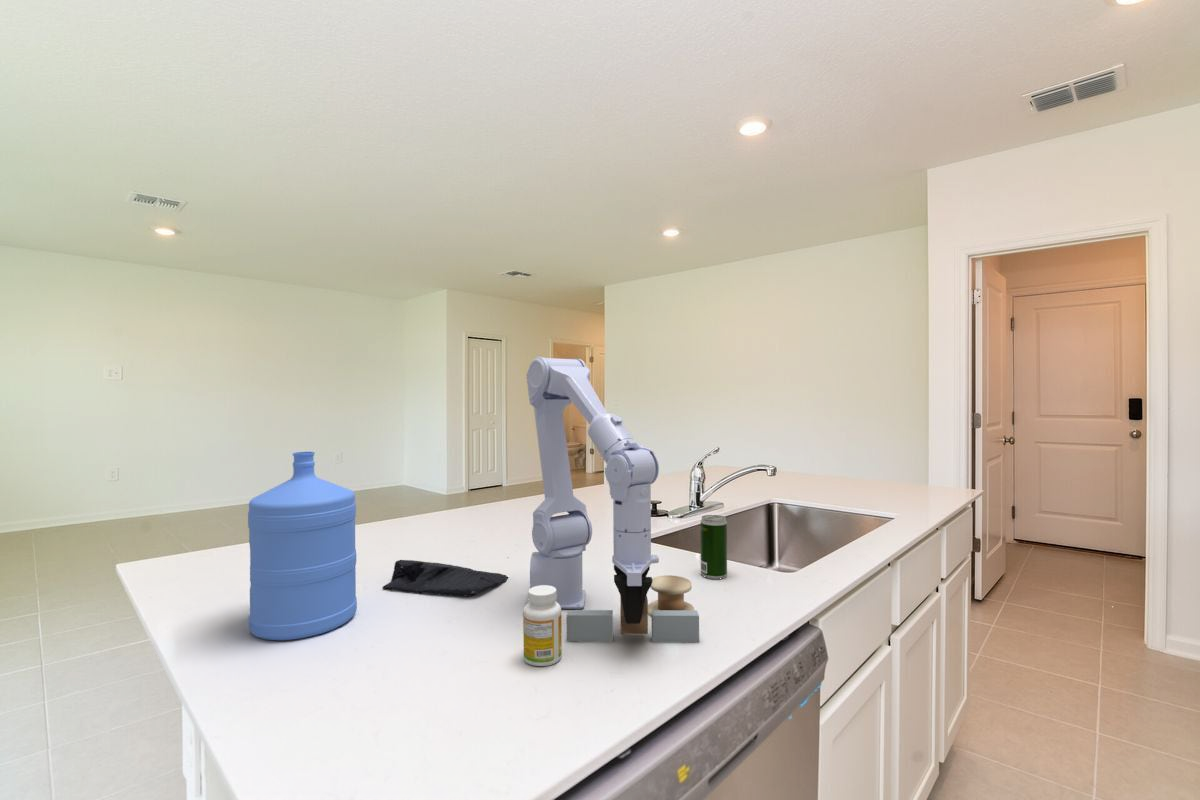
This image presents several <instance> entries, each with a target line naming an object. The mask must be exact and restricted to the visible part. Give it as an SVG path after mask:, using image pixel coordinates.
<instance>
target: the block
mask: <svg viewBox="0 0 1200 800" xmlns="http://www.w3.org/2000/svg"><path fill="white" fill-rule="evenodd" d="M647 595H648V594H647ZM647 595H646V598H645V602H644V607H643V613H642V618H641V621H640V623H639V624H627V623H626V620H625V616H624V611H623V604H622V599H621V596H620V600H619V603H620V607H619V608H620V611H619V612H620V621H619V622H620V624H619V625H620V634H621V635H648V634H649V633H648V631H649V629H648V628H649V627H648V626H649V619H648V618H649V615H648V605H649V600H648V596H647Z"/></svg>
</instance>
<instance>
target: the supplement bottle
mask: <svg viewBox="0 0 1200 800" xmlns="http://www.w3.org/2000/svg"><path fill="white" fill-rule="evenodd" d="M527 595H528V598H527V599H528V603H527V604H526V605H525V606H524V608H523V611H522V612H523V614H522V615H523V616H522V617H523V618H522V621H523V623H522V624H523V626H522V627H523V628H522V630H523V632H522V633H523V660H524V661H525V662H526V663H527V664H529V665H530V666H533V667H534V666H535V667H547V666H548V667H549V666H552V665H554V664H556V663H558V662H559V661H560V660H561V658H562V654H563V653H562V651H563V650H562V647H563V645H562V643H563V642H562V641H563V640H562V638H563V637H562V631H563V630H562V617H563V615H562V609H561V606H560V605H559V604H558V603H557V602H555V601H556V598H557V592H556V588H555V587H553V586H548V585H540V586H535V587H532V588H530V587H529V589H528V594H527Z"/></svg>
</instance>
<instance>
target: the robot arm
mask: <svg viewBox="0 0 1200 800" xmlns="http://www.w3.org/2000/svg"><path fill="white" fill-rule="evenodd" d="M525 376H526V383H527V384H526V385H527V391H528V398H529V399H528V400H529V405H531V406H532V408H533V411H534V420H535V428H536V435H537V437H536V438H537V445H538V451H539V452H538V453H539V460H540V470H541V477H542V478H541V479H542V485H543V494H544V495H543V496H544V500H542V502H541V503H540V505H538V507H536V509H535V510H534V511H533V513H532V519H533V520H532V521H533V522H532V530H531V538H532V543H533V545H534V547H535V548H536V550H537V551H533V552H532V553H531V556H530V566H529V589H530V588H532V587H535V586H540V585H548V586H553V587H555V588H556V592H557V598H556V601H555V602H557V603H558V604H559V605H560V606H561V610H562V609H564V610H565V609H566V610H583V609H584V607H585V602H586V601H585V600H586V594H587V593H586V590H584V589H583V552H585V551H586V548H587V545H589V544H590V542H591V540H592V536H593V526H592V522H591V520H590V518H589V515H588V512H587V506H586V504H585V503H583V501H581V500H580V499H578V498H577V497H576V496H575V495H574V491H573V490H574V489H573V482H572V481H573V480H572V477H571V475H572V474H571V466H570V458H569V452H568V443H567V437H566V436H567V435H566V427H565V421H564V413H563V412H564V411H565V408H566V407H568V406H569V405H572V404H573V405H574V407H575V408H576V409H577V410H578V411H579V413H580V415H582V417H583V418H584V419H585V421H586V422H587V423H588V424H589V426H588V429H587V435H588V436H589V439H590V440H591V442H592V444H593V445H594V447H595V448H596V449H597V452H598V453H599V454H600V456H601V457H602V459H603V460H604V462H605V464H606V465H605V466H606V467H604V475H605V478H606V480H607V483H608V487H609V495H610V498H611V499H612V501H613V503H612V504H613V505H612V507H613V510H612V511H613V513H612V514H613V520H612V521H613V523H612V524H613V526H612V527H613V530H612V531H613V541H612V542H613V555H612V556H611V557H612V559H611V562H612V564H613V571H614V572H615V574H613V582H614V584H615V586H616V588H617V590H618V592H619V595H620V596H621V599H622V604H623V611H624V616H625V620H626V623H627V624H639V623H640V621H641V618H642V613H643V607H644V602H645V598H646V595H648V593H649V590H650V589H651V584H652V579H653V577H652V576H647V575H648V573H649V571H650V568H651V567H650V566H651V565H652V564H658V563H659V562H660V561H659V560H660V558H659V555H656V554H652V505H651V504H652V499H651V497H652V495H651V494H652V491H651V488H652V486H651V485H653V484H654V483H655V482H656V481H657V479H658V476H659V473H660V471H659V470H660V466H659V461H658V459H657V456H656V454H655V452H654V450H652V449H651V448H650V447H649V448H648V447H646V446H643V445H642V444H641V443H640V444H639V443H638V442H637V441H636V440H635V439H634V437H633V435H632V434H631V433H630V432H629V430H628V429H627V427H626V426H625V425H624V423H623V419H622V418H621V416H620V415H617V414H616V413H611V412H610V413H608V412H607V411H606V409H605V407H604V405H603V403H602V402H601V400H600V398H599V397H598V396H599V395H597V393H596V391H595V389H594V387H593V386H592V383H591V381H590V380H591V370H590V369H589V368H588V366H587V365H586V363H585V361H584V360H583V359H580V358H556V357H555V358H554V357H551V358H550V357H543V356H537V357H534V358H533V360H532V361H531V362H530V365H529V367H528V370H527V372H526V375H525ZM560 513H567V514H561V515H556V514H560ZM553 515H556V516H553Z"/></svg>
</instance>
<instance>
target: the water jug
mask: <svg viewBox="0 0 1200 800" xmlns="http://www.w3.org/2000/svg"><path fill="white" fill-rule="evenodd" d="M292 456H293V462H292V469H293V471H292V473H293V474H292V477H291V478H290V479H288V480H286V481H285V482H282V483H281V484H279V485H276V486H274V487H273V488H270V489H268V490H266V491H264V492H262V493H261V494H259V495H257V496H255V497H253V498H251V499H250V500H249V503H248V511H247V512H248V513H247V526H248V531H249V532H248V538H249V539H248V541H249V542H248V543H249V559H250V560H249V561H250V562H249V583H250V587H249V615H248V629H249V632H250V633H251V634H252V635H253V636H255V637H257V638H259V639H263V640H267V641H289V640H290V641H292V640H299V639H305V638H310V637H313V636H318V635H322V634H324V633H327V632H330V631H333V630H335V629H337V628H340V627H341V626H343V625H345V624H346V623H347V622H349V621H350V620H351V619H352V618H353V617H354V615H355V614H356V612H357V608H358V603H357V602H358V601H357V600H358V599H357V595H356V593H357V592H356V591H357V590H356V588H357V585H356V583H357V582H356V577H357V576H356V573H357V572H356V571H357V569H356V565H357V549H356V517H357V505H356V494H355V492H354V491H353V490H352V489H349V488H347V487H345V486H342V485H338V484H336V483H333V482H330V481H329V480H328V481H327V480H325V479H322V478H320V477H317V476H316V474H315V465H316V464H315V462H316V461H314V459H315V458H314V456H315V452H314V451H298V452H293V453H292Z"/></svg>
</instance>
